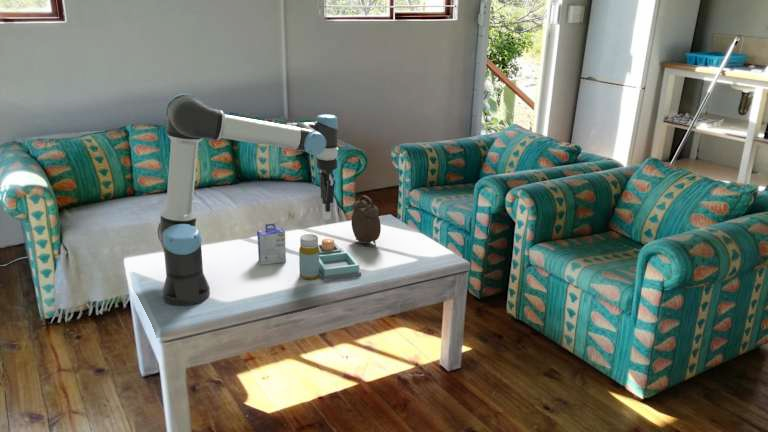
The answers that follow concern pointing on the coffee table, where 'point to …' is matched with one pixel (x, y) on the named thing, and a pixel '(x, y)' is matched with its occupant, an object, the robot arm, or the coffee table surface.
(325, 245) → the button
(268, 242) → the ink cartridge box
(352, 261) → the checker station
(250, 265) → the coffee table surface
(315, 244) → the bottle
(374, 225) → the alarm clock
